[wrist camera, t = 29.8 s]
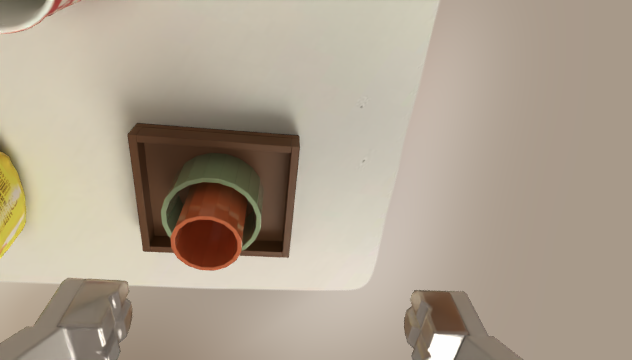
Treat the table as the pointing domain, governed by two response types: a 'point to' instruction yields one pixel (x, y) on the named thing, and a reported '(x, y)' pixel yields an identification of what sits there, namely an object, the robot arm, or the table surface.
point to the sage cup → (223, 172)
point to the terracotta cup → (210, 226)
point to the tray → (160, 170)
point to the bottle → (10, 204)
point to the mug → (27, 13)
